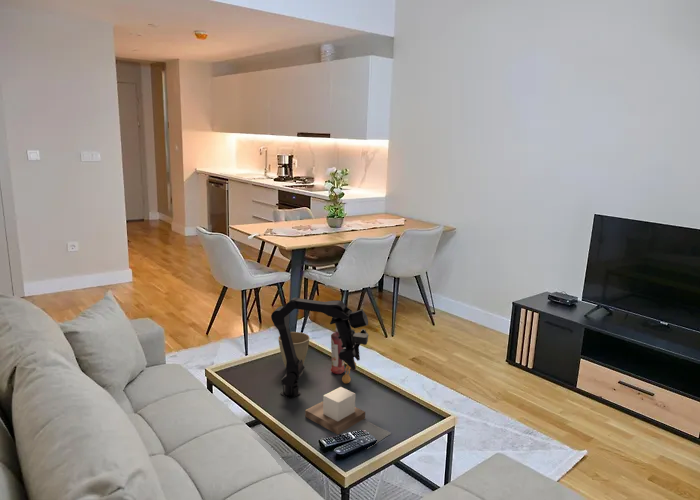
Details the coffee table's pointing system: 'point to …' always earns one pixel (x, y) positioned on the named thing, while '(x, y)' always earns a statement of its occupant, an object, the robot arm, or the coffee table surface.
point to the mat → (369, 430)
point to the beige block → (339, 403)
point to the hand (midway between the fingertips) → (356, 364)
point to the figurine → (346, 377)
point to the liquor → (336, 354)
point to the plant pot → (297, 345)
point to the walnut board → (335, 426)
